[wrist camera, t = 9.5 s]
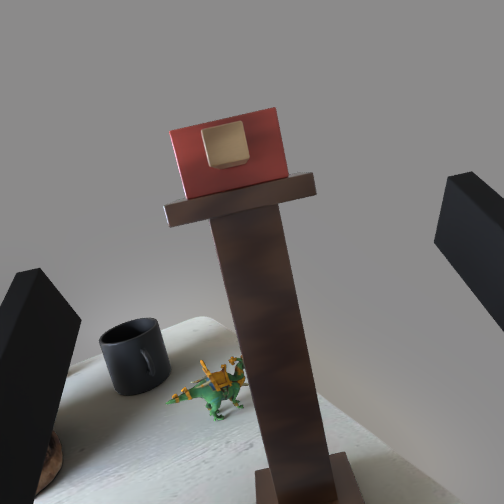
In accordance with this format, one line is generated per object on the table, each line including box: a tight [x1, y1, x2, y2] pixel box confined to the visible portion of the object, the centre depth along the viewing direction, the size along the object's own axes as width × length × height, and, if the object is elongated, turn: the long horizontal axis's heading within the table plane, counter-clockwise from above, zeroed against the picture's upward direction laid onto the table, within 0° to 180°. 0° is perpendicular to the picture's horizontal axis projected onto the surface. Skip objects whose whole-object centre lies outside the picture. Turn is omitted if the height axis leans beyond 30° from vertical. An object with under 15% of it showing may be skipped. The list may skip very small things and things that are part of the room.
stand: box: [164, 172, 365, 504], centre depth 30 cm, size 10×7×28 cm
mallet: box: [169, 107, 289, 200], centre depth 22 cm, size 7×13×4 cm, turn 2°
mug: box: [99, 318, 171, 395], centre depth 60 cm, size 9×12×9 cm
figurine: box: [165, 355, 249, 421], centre depth 47 cm, size 3×12×8 cm, turn 117°
